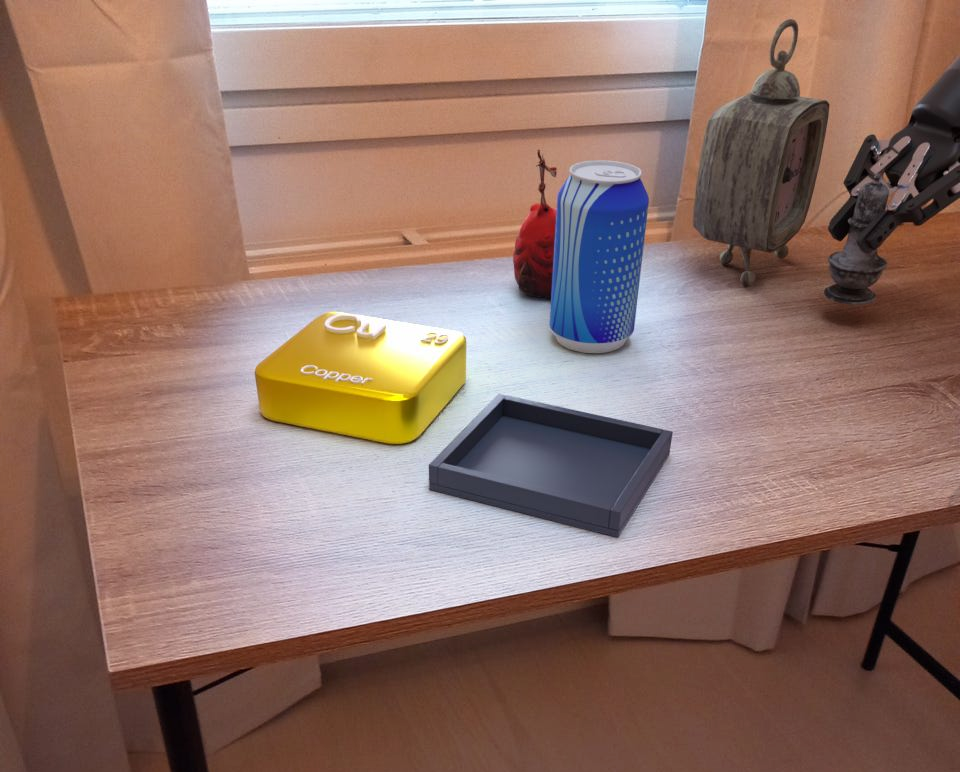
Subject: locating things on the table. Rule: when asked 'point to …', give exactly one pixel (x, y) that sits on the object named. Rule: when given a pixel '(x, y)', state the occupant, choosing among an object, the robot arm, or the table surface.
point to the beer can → (598, 255)
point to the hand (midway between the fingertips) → (848, 241)
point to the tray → (553, 463)
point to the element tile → (362, 377)
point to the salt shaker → (858, 251)
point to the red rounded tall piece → (536, 244)
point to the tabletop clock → (760, 164)
